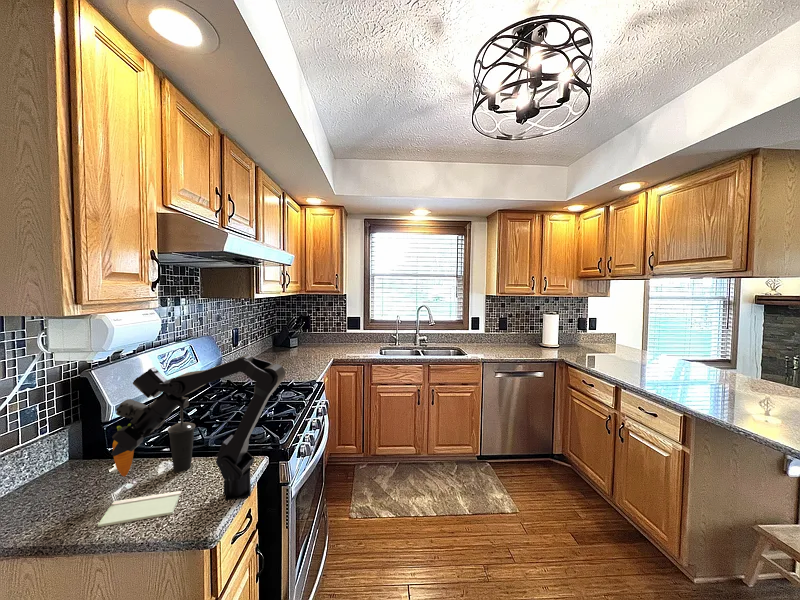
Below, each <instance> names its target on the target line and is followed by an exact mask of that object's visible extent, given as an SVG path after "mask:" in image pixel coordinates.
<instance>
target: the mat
mask: <svg viewBox="0 0 800 600" xmlns="http://www.w3.org/2000/svg"><path fill="white" fill-rule="evenodd" d="M179 499H180V495H177V496H170V497H164V498H158V499H152V500H146V501H139V502H133V503H127V504H121V505H114V506H112V505H111V506H109V507H108V509H107V510H106V512H105V514H104V515H103V517H102V518H101V520H99V522H98V523H97V528H101V527H102V528H103V527H107V526H112V525H118V524H124V523H130V522H135V521H140V520H146V519H152V518H158V517H163V516H168V515H173V514H174V512H175V509H176V507H177V505H178V502H179Z"/></svg>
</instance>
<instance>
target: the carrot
mask: <svg viewBox="0 0 800 600" xmlns="http://www.w3.org/2000/svg"><path fill="white" fill-rule="evenodd" d="M131 425H132V423H131V422H130V423H128V424H127V426H131ZM131 427H132V426H131ZM121 428H123V426H121V425H117V426H116V429H117V431H118V430H120V429H121ZM117 444H118V442H117V441H115V440H114V439H113V442H112V451H113V450H114V448H115V447H116V445H117ZM134 453H135V449H134V450H133V451H125V452H123V453H121V454H118V455H116V456H113V460H114V464H115V467H116V469H117V471H118V473H119V474H120V475H121V476H122V477H124V478H126V476H128V473H129V472H130V469H131V466H132V464H133V459H134V455H135V454H134Z"/></svg>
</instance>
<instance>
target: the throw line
mask: <svg viewBox="0 0 800 600" xmlns="http://www.w3.org/2000/svg"><path fill="white" fill-rule="evenodd" d="M181 494H182V490H178V491H172V492H171V491H170V492H165V493H158V494H152V495H146V496H145V495H144V496H140V497H133V498H127V499H121V500H114V501H113V502H112V504H111V506H116V505H122V504H128V503H134V502H140V501H147V500H153V499H159V498H165V497H171V496H178V495H179V496H180V495H181Z"/></svg>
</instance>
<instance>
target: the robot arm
mask: <svg viewBox="0 0 800 600" xmlns="http://www.w3.org/2000/svg"><path fill="white" fill-rule="evenodd" d="M240 372H241V373H243V374H244V375H245V376H246V377H248V378H249V379H250V380H252V381H253V382H255V384H254V390H253V391H254V394H253V395H252V397H251V400H250V401H249V403H248V406H247V408H246V410H245V412H244V414H243V416H242V418H241V420H240V422H239V424H238V426H237V428H236V430H235V432H234V434H230V435H229V436H228V437H227V438H226V439H224V440H223V442H221V444H220V446H219V450H218V451H217V453H216V454H214V455H215V457H216V460H215V464H217V468H218V469H219V471H220V474H221V476H222V479H223V496H225V498H224V500H225V501H232V500H237V499H243V498H249V497H250V496H251V494H252V493H251V492H252V483H251V467H252V466H253V465H254V462H255V458H254V456H252V454H250V452H249V451H248V449H249V443H250V437H251V435H252V433H253V431H254V429H255V427H256V425H257V423H258V421H259V420H260V417H261V415H262V412H263V410H264V409H265V407H266V405H267V403H268V401H269V399H270V397H271V395H273V393H275V391H276V390H277V388H278V387H279V386H280V384H281V383H282V382H283V381H284V380H285V377H286V371H285V369H284V367H283V366H282V365H281V364H279V363H272V362H270V361H267V360H264V359H259V358H256V357H254V356H252V355H249V354H245V355H242V356H239V357H238V358H237V359H233V360H231V361H227V362H224V363H222V364H219V365H216V366H214V367H211V368H208V369H204V370H196V371H195V370H193V371H188V372H186V373H183V374H181V375H178V376H175V377H172V378H169V379H167V378H166V377H165V376H163V375H162V374H161V373H160V372H159V370H158V369H157V368H156V367H151V368H148V370H147V371H145V372H143V373H142V374H141V375H140V376H138V377H136V378H135V379H134V380H133V382H132V385H133V386H134V387H135V388H136V389H138V391H140V392H141V393H142V394H143V395H144V396H145V397H146V398H147V399H149V398H151V397H152V398H154V400H153V402H151V403H149V404H148V405H146V404H145V403H143V402H140V401H137V400H134V399H131V398H130V399H129V398H128V399H125V400H123V401H122V402H121V403H120V404H119V406H118V407H117V408H115V411H116V413H115V415H117V416H119V417H122V418H127V419H131V420H130V424H131V425H132V424H133V426H128V425H127V426H126V425H124V426H122V428H121V429H120V430H117V431H116V432H115V433H114V434H113V435H112V436H111V438H112V439H113V441H114V440H115V441H117V442H118V444H117V445H116V447H115V448H114V450H113V449H112V452H111V455H112V456H113V457H114V456H116V455H118V454H121V453H123V452H125V451H133V450H134V451H135V449H136V448H137V447H139V446H140V445H141V444H142V443H143V441H144V438H145V439H146V438H147V437H149V436H151V435H152V434H153V433H154V432H155V430H159V428H160V427H161V426H163V424H165V423H166V419H168V417H169V416H170V415H172V413H173V412H174V411H175V410H176V409H177V408H178V407H179V408H181V409H183V410H184V409H185V408H187V407H189V406H190V402H189V397H188V396H187V395H189V394H190V393H193V392H195V391H197V390H198V389H200V388H201V387H203V386H206V385H207V384H209V383H212V382H214V381H217V380H220V379H221V380H222V379H224V378H226V377H230V376H232V375H236V374H238V373H240ZM186 396H187V397H186ZM155 398H156V399H155Z"/></svg>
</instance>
